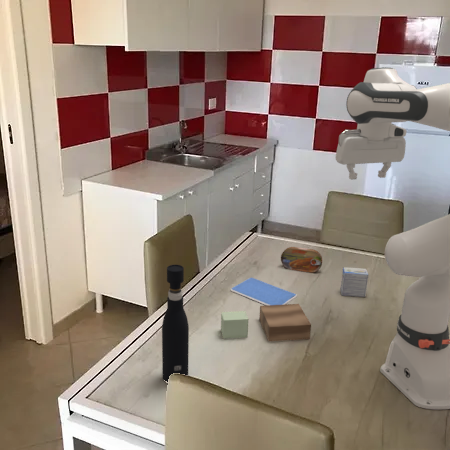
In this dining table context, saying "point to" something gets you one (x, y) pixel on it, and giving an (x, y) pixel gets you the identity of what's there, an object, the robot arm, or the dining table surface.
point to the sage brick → (234, 324)
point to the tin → (301, 259)
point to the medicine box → (354, 282)
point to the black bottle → (175, 327)
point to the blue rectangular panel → (263, 292)
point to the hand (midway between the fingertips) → (367, 178)
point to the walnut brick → (284, 322)
